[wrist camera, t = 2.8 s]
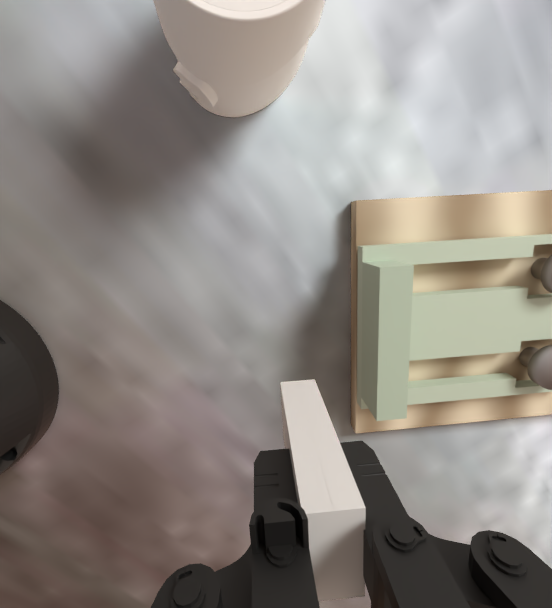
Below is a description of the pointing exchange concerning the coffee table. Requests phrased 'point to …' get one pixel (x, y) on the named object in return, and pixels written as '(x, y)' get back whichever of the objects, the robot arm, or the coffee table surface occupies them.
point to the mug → (238, 48)
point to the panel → (440, 323)
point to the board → (455, 276)
